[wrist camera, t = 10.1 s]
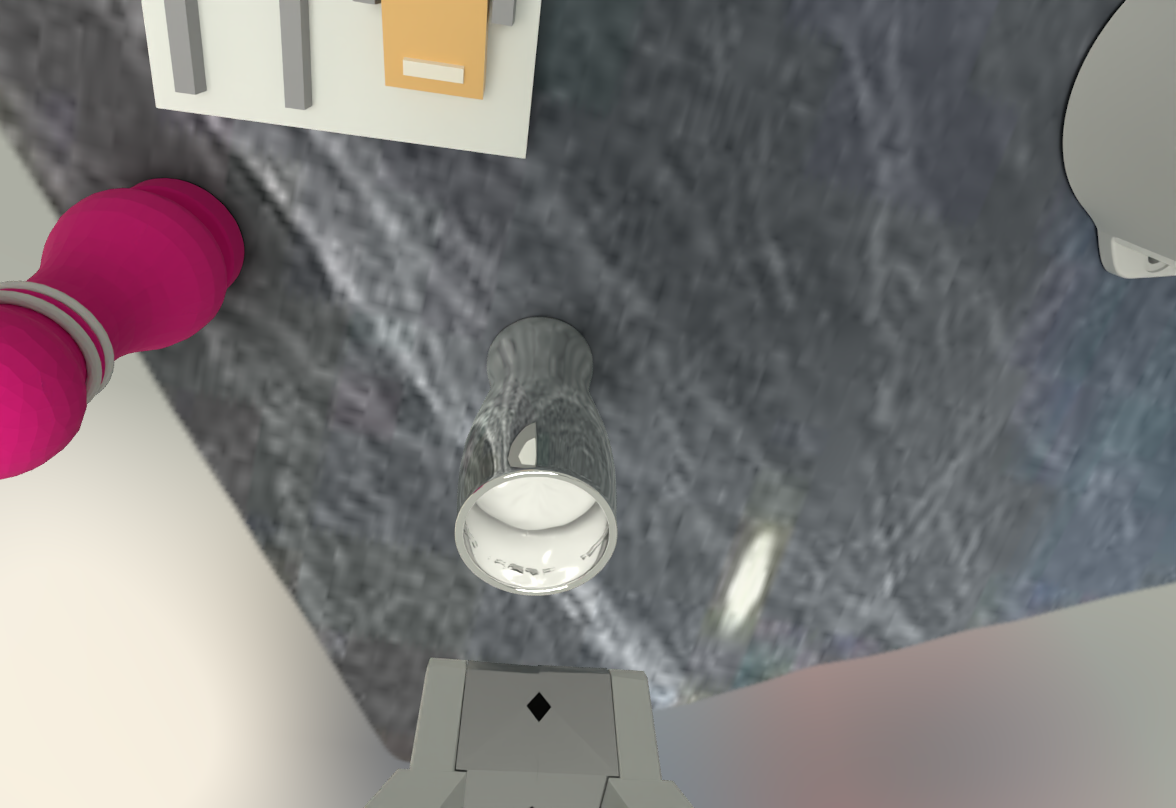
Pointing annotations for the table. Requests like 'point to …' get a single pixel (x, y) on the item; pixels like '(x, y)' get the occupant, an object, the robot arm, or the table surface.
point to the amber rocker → (436, 45)
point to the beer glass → (537, 466)
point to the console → (334, 71)
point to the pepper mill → (106, 304)
